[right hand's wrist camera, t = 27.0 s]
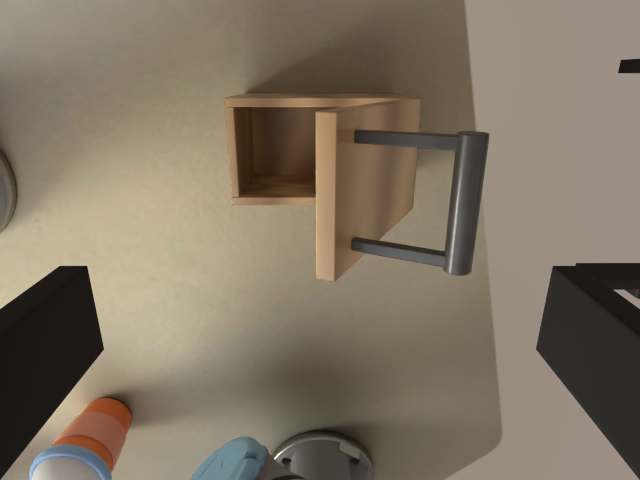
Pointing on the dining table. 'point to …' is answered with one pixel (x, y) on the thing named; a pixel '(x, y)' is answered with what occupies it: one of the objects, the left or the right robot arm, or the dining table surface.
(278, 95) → the chest
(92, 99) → the dining table surface
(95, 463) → the cup with straw
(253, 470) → the left robot arm
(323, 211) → the lid
